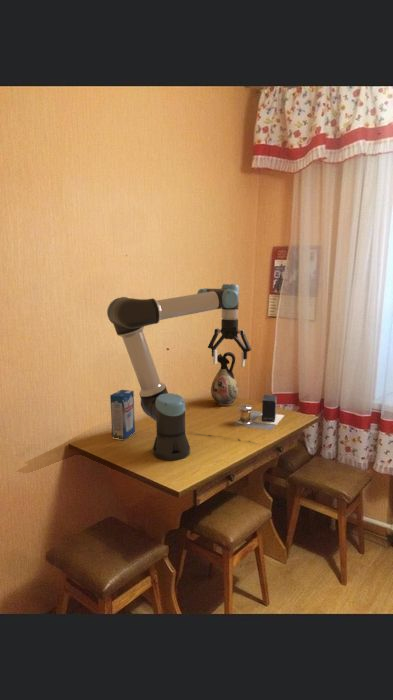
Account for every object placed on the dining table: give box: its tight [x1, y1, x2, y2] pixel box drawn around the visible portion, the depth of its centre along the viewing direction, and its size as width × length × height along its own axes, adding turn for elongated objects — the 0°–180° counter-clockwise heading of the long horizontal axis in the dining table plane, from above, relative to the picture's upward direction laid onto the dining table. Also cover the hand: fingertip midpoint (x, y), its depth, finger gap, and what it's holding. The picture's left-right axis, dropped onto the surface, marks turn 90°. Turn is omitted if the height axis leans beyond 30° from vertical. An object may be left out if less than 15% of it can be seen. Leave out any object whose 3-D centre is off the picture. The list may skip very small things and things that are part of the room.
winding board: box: [232, 410, 286, 431], centre depth 210 cm, size 19×24×2 cm
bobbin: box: [237, 404, 253, 425], centre depth 204 cm, size 7×7×8 cm
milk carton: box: [109, 389, 136, 440], centre depth 192 cm, size 10×6×20 cm, turn 160°
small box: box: [261, 394, 277, 422], centre depth 209 cm, size 11×6×10 cm, turn 167°
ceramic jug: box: [210, 351, 239, 407], centre depth 238 cm, size 17×15×30 cm
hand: (228, 365), depth 197 cm, fingers open, 13 cm apart
